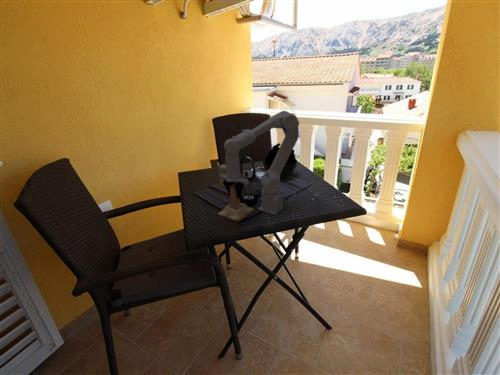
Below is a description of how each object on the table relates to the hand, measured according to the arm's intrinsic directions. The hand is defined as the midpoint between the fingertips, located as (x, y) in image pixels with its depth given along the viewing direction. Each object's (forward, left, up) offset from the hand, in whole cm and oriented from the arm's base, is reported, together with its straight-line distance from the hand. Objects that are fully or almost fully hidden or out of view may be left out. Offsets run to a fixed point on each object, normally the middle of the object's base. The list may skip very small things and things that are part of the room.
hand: (235, 196), depth 117 cm
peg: (0, 0, -3) cm, 3 cm away
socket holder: (0, 0, -8) cm, 8 cm away
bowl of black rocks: (+5, -49, -8) cm, 50 cm away
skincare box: (+24, -21, -8) cm, 33 cm away
